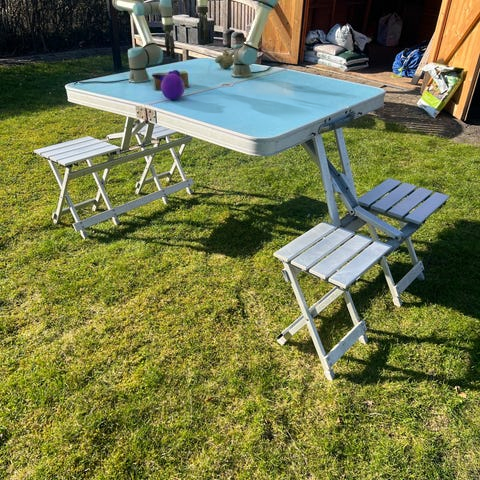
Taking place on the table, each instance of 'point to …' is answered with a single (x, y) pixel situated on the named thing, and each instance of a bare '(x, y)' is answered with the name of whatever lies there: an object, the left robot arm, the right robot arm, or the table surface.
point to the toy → (171, 85)
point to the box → (158, 83)
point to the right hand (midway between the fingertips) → (204, 40)
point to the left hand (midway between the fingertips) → (170, 57)
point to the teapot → (225, 59)
